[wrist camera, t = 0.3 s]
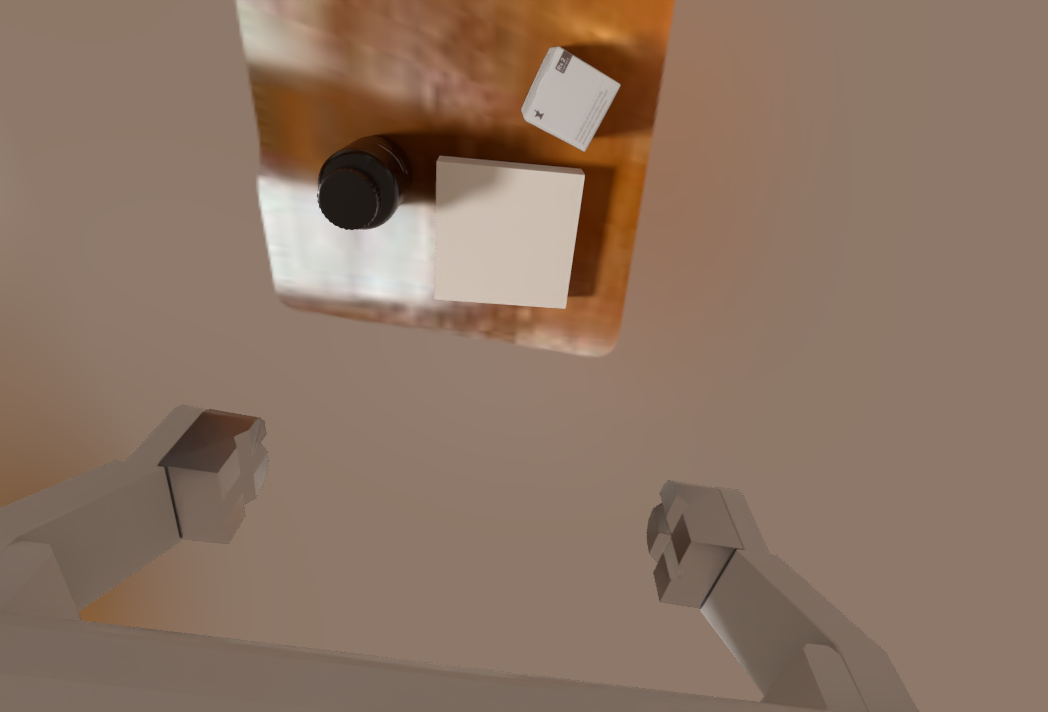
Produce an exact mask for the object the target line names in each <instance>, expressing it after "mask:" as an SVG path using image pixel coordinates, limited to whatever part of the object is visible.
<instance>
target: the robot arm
mask: <svg viewBox="0 0 1048 712" xmlns="http://www.w3.org/2000/svg"><path fill="white" fill-rule="evenodd" d="M265 436H266V427H265V421H264V420H263V419H261V418H258V417H252V416H247V415H241V414H236V413H230V412H224V411H219V410H212V409H209V410H208V409H203V408H198V407H193V406H187V405H181V406H178V407H176V408H174V409H173V410H172V411H171V412H170V413H169V414H168V416H167V417H166V418H165V419H164V420H163V421H162V422H161V423H160V424H159V425H158V426H157V427H156V428H155V429H154V430H153V431H152V432H151V434H149V435H148V437H147V438H146V439H145V440H144V441H143V442H142V443H141V444H140V445H139V446H138V447H137V448H136V449H135V450H134V451H133V452H132V453H131V455H129V456H128V458H127V459H126V460H125V461H119V460H114V461H112V462H110V463H107V464H105V465H102V466H100V467H98V468H95V469H93V470H90V471H88V472H86V473H83V474H81V475H79V476H76V477H74V478H71V479H69V480H66V481H64V482H62V483H59V484H57V485H54V486H53V487H50V488H47V489H45V490H43V491H40V492H38V493H35V494H33V495H31V496H28V497H26V498H23V499H21V500H18V501H16V502H14V503H11V504H9V505H7V506H4V507H2V508H0V712H919V710H918V709H917V707H916V705H915V703H914V702H913V700H912V698H911V696H910V695H909V693H908V691H907V689H906V687H905V685H904V684H903V682H902V680H901V678H900V677H899V675H898V673H897V671H896V669H895V667H894V666H893V664H892V662H891V660H890V658H889V657H888V655H887V653H886V652H885V651H884V650H883V649H882V648H881V647H880V646H879V645H877V644H876V643H875V642H874V641H873V640H872V639H871V638H870V637H868V636H867V635H866V634H865V633H864V632H863V631H862V630H861V629H860V628H858V627H857V626H856V625H855V624H854V623H853V622H852V621H851V620H849V619H848V618H847V617H846V616H845V615H844V614H843V613H842V612H840V611H839V610H838V609H837V608H836V607H835V606H834V605H833V604H832V603H830V602H829V601H828V600H827V599H826V598H825V597H824V596H822V595H821V594H820V593H819V592H818V591H817V590H816V589H815V588H814V587H812V586H811V585H810V584H809V583H808V582H807V581H806V580H805V579H803V578H802V577H801V576H800V575H799V574H798V573H797V572H796V571H795V570H793V569H792V568H791V567H790V566H789V565H788V564H787V563H786V562H784V561H783V560H782V559H781V558H780V557H779V556H778V555H773V554H770V553H769V550H768V548H767V546H766V544H765V541H764V539H763V537H762V535H761V532H760V530H759V528H758V526H757V524H756V522H755V519H754V517H753V515H752V513H751V511H750V508H749V506H748V504H747V501H746V499H745V497H744V495H743V493H742V492H740V491H739V490H737V489H729V488H722V487H712V486H705V485H698V484H691V483H685V482H677V481H671V480H668V481H667V482H666V483H665V484H664V485H663V487H662V489H661V492H660V496H661V500H662V503H661V504H659V505H658V506H656V507H655V508H653V510H652V512H651V515H650V517H649V520H648V527H647V545H648V550H649V554H650V555H651V556H652V557H653V558H654V560H655V561H656V562H657V563H658V564H657V566H656V568H655V570H654V573H653V574H654V578H655V583H656V587H657V592H658V596H659V601H660V602H663V603H669V604H676V605H681V606H687V607H694V608H700V609H701V610H700V611H701V612H702V614H704V616H705V618H706V619H707V620H708V622H709V623H710V624H711V626H712V627H713V628H714V630H715V631H716V632H717V634H718V635H719V636H720V637H721V639H722V640H723V642H724V643H725V644H726V646H727V647H728V648H729V650H730V651H731V652H732V654H733V655H734V656H735V658H736V659H737V660H738V662H739V663H740V664H741V666H742V667H743V668H744V670H745V671H746V672H747V674H748V675H749V676H750V678H751V679H752V680H753V682H754V683H755V685H756V686H757V687H758V689H759V690H760V691H761V692H762V694H763V695H764V697H763V699H762V700H761V701H760V702H754V701H746V700H737V699H729V698H721V697H713V696H704V695H696V694H687V693H679V692H671V691H663V690H654V689H646V688H637V687H629V686H620V685H612V684H604V683H595V682H587V681H579V680H570V679H561V678H554V677H545V676H537V675H528V674H519V673H511V672H503V671H495V670H486V669H478V668H470V667H462V666H453V665H445V664H436V663H429V662H420V661H412V660H404V659H396V658H387V657H378V656H371V655H362V654H354V653H346V652H338V651H330V650H321V649H313V648H305V647H296V646H288V645H280V644H271V643H264V642H255V641H246V640H239V639H230V638H221V637H213V636H205V635H197V634H188V633H181V632H172V631H163V630H156V629H147V628H139V627H131V626H122V625H113V624H106V623H97V622H89V621H82V620H81V617H80V615H79V613H78V612H79V611H81V610H82V609H84V608H85V607H87V606H88V605H89V604H91V603H92V602H94V601H95V600H97V599H98V598H100V597H101V596H102V595H104V594H105V593H107V592H108V591H110V590H111V589H113V588H114V587H116V586H117V585H118V584H120V583H121V582H123V581H124V580H126V579H127V578H129V577H130V576H132V575H133V574H134V573H136V572H137V571H139V570H140V569H142V568H143V567H145V566H146V565H147V564H149V563H150V562H152V561H153V560H155V559H156V558H157V557H159V556H161V555H162V554H163V553H165V552H166V551H168V550H169V549H171V548H172V547H174V546H175V545H177V544H178V543H179V542H180V539H184V540H193V541H203V542H213V543H222V544H229V543H230V541H231V539H232V538H233V536H234V534H235V533H236V531H237V529H238V528H239V526H240V524H241V523H242V521H243V519H244V518H245V508H244V505H245V504H247V503H249V502H250V501H252V500H254V499H255V498H256V497H257V496H258V494H259V492H260V490H261V488H262V487H263V484H264V481H265V478H266V475H267V470H268V462H269V460H268V451H267V450H266V449H265V447H264V446H263V445H262V444H261V442H262V440H263V439H264V437H265Z"/></svg>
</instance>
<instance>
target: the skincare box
mask: <svg viewBox="0 0 1048 712" xmlns="http://www.w3.org/2000/svg"><path fill="white" fill-rule="evenodd" d="M620 86H621V84H619V83H618V82H616V81H615V80H613V79H612V78H610V77H608V76H607V75H605V74H604V73H602V72H600V71H599V70H597V69H596V68H594V67H592V66H591V65H589V64H588V63H586V62H584V61H583V60H581V59H579V58H578V57H576V56H574V55H573V54H571V53H570V52H568V51H566V50H565V49H563V48H561V47H560V46H559V47H552V48H550V49H549V51H548V53H547V55H546V56H545V58H544V60H543V63H542V65H541V67H540V69H539V71H538V73H537V75H536V77H535V79H534V82H533V84H532V86H531V88H530V91H529V93H528V95H527V97H526V100H525V102H524V104H523V107H522V109H521V111H522V114H523V116H524V119H525V120H526V121H527V122H529V123H531V124H533V125H535V126H536V127H538V128H540V129H542V130H544V131H546V132H548V133H550V134H552V135H554V136H556V137H557V138H559V139H561V140H563V141H565V142H567V143H569V144H571V145H573V146H575V147H576V148H578V149H580V150H582V151H586V149H587V147H588V146H589V144H590V142H591V140H592V139H593V137H594V135H595V133H596V131H597V129H598V128H599V126H600V124H601V122H602V120H603V118H604V116H605V115H606V113H607V111H608V109H609V107H610V105H611V103H612V101H613V100H614V98H615V96H616V94H617V92H618V90H619V88H620Z"/></svg>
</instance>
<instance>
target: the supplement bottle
mask: <svg viewBox="0 0 1048 712" xmlns="http://www.w3.org/2000/svg"><path fill="white" fill-rule="evenodd" d="M411 183H412V169H411V165H410V162H409V160H408V158H407V156H406V155H405V153H404V152H403V151H402V149H401V148H400V147H399V146H398V145H396V144H395V143H394V142H392V141H390V140H388V139H386V138H383V137H379V136H367V137H363V138H360V139H358V140H356V141H354V142H352V143H351V144H349V145H347V146H346V147H344V148H342V149H341V150H339V151H337V152H336V153H334V154H333V155H331V156H330V157H329V158H328V159H327V160H326V161H325V163H324V164H323V166H322V168H321V170H320V173H319V177H318V194H317V197H318V203H319V207H320V209H321V211H322V213H323V214H324V215H325V217H326V218H327V219H328V220H329V221H330V222H331V223H333V224H334V225H335V226H338V227H340V228H344V229H346V230H347V229H350V230H354V229H357V230H358V229H362V230H365V229H372V228H376V227H378V226H380V225H382V224H384V223H385V222H386V221H388V220H389V219H390V218H391V217H392V215H393V214H394V213H395V211H396V210H397V208H398V207H399V205H400V204H401V203H402V201H403V200H404V198H405V197H406V195H407V193H408V192H409V189H410V187H411Z"/></svg>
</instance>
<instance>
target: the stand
mask: <svg viewBox="0 0 1048 712" xmlns="http://www.w3.org/2000/svg"><path fill="white" fill-rule="evenodd" d="M584 180H585V174H584V172H583V171H582V169H579V168H569V167H558V166H547V165H536V164H525V163H515V162H504V161H493V160H482V159H471V158H461V157H450V156H439V158H438V160H437V161H436V230H435V299H436V300H451V301H465V302H479V303H493V304H507V305H521V306H535V307H549V308H563V309H565V308H566V302H567V295H568V288H569V281H570V275H571V268H572V261H573V254H574V247H575V241H576V234H577V227H578V220H579V213H580V207H581V200H582V193H583V186H584Z"/></svg>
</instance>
